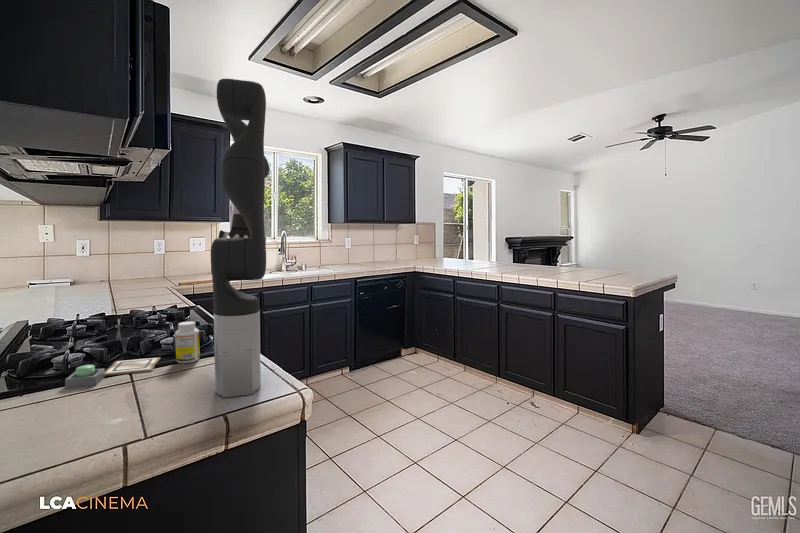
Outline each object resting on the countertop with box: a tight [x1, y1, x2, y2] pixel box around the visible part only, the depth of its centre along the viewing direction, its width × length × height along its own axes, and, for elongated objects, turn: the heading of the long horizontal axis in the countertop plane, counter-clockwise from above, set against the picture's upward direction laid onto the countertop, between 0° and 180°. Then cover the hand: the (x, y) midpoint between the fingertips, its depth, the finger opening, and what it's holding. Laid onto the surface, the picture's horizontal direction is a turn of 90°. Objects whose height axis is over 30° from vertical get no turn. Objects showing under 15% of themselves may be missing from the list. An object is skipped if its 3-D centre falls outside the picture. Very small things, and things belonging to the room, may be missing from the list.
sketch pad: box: [105, 356, 162, 377], centre depth 93 cm, size 10×10×1 cm
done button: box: [75, 364, 96, 377], centre depth 83 cm, size 3×3×2 cm
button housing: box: [64, 368, 106, 389], centre depth 83 cm, size 5×5×2 cm
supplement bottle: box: [174, 321, 201, 364], centre depth 99 cm, size 6×6×10 cm
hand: (239, 265), depth 117 cm, fingers open, 8 cm apart
